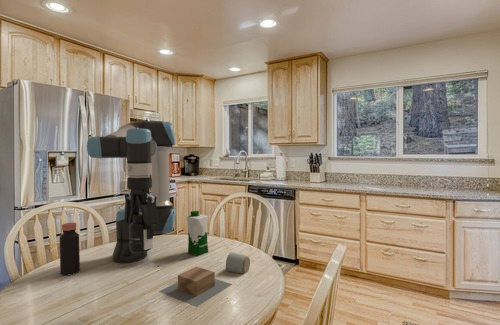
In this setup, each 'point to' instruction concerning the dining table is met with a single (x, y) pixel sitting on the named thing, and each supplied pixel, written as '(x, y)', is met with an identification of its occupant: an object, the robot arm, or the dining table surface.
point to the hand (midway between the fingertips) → (141, 246)
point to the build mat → (193, 299)
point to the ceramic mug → (237, 263)
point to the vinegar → (69, 250)
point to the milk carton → (197, 233)
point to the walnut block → (196, 281)
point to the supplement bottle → (137, 234)
